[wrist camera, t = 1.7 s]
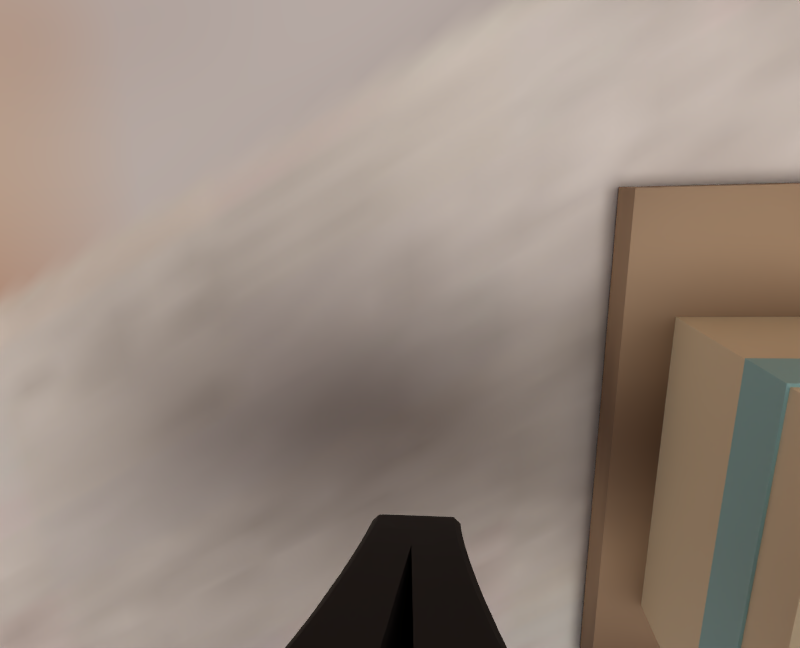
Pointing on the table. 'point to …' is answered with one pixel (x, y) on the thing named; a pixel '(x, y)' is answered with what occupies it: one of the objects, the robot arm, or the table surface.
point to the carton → (728, 488)
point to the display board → (669, 357)
